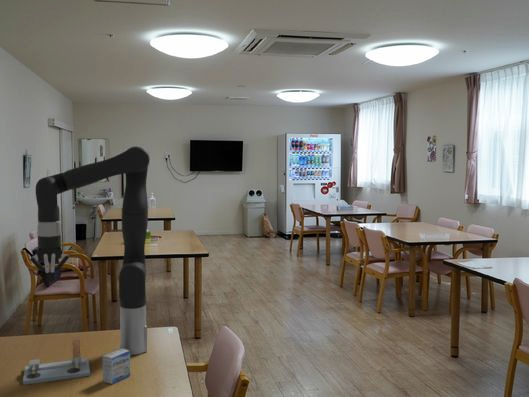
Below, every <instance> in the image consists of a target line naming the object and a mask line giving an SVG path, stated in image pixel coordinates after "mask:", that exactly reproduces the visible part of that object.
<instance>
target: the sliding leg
mask: <svg viewBox="0 0 529 397" xmlns="http://www.w3.org/2000/svg"><path fill="white" fill-rule="evenodd" d="M71 339H72V340H71V342H72V344H71V345H72V347H71V348H72V354H71V360H72V364H75V369H76V370H77V369H78V364H79V363H81V359H82V353H81V337H80V336H74V337H72V338H71Z"/></svg>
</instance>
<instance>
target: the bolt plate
mask: <svg viewBox="0 0 529 397" xmlns="http://www.w3.org/2000/svg"><path fill="white" fill-rule="evenodd" d="M89 361H90V360H89V358H81V363H79V364H78V369H77V370H76V369H75V364H72V359H71V360H63V361H55V362H48V363H40V367H39V370H35V375H34V376H33V375H32V371H29V365H25V366H24V372H23V376H22V377H23V378H22V386H25V385H31V384H39V383H40V384H41V383H45V382H47V383H48V382H54V381H60V380H68V379H77V378H82V377H83V378H84V377H90V376H91V371H90V370H91V369H90V362H89Z"/></svg>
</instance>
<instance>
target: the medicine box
mask: <svg viewBox="0 0 529 397" xmlns="http://www.w3.org/2000/svg"><path fill="white" fill-rule="evenodd" d="M101 358H102V381H103V382H104V383H107V384H111V385H114V384H116V383H118V382H120V381H122V380H125V379H126V378H128V377H130V376H131V355H130V351H129V350H126V349H122V348H119V349H117V350H114V351H112V352H109V353H106V354H103V355H102V357H101Z"/></svg>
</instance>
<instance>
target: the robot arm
mask: <svg viewBox="0 0 529 397" xmlns="http://www.w3.org/2000/svg"><path fill="white" fill-rule="evenodd" d="M150 160H151V159H150V154H149V153H148V151H147V150H146V149H145V148H143V147H141V146H130V147H129V148H127V150H126V151H125V150H124V151H123V152H121V153H119V154H117V155H115V156H112V157H110V158H107V159H103V160H101V161H100V160H99V161H97V162H92V163H87V164H85V165H84V164H83V165H80V166H78V167H73V168H71V169H68V170H65V171H64V172H60V173H57V174H53V175H49V176H45V177H42V178H40V179H39V180H37V182H36V184H35V197H36V198H35V199H36V204H37V232H36V233H37V234H36V235H37V251H36V254H34V255H33V256H31V257H30V259H29V260H30V261H31V263H32V264H33V265H34V266H35V267H36V268H37V270H39V271H40V272H44V273H45V281H46V282H47V283H48V284H53V282H55V278H56V275H55V272H57V271H60V270H61V269H62V267H63V266H64V265H65V263H66V262H67V261H68V260H69V254H65V253H64V252H63V248H62V230H61V229H62V228H61V217H60V216H61V215H60V207H59V205H58V195H59V194H62V193H66V192H68V191H71V190H77V189H79V188H80V189H81V188H83V187H86V186H90V185H92V184H95V183H98V182H101V181H102V180H105V179H109V178H112V177H115V176H118V175H124V174H125V187H124V193H123V199H122V207H121V232H122V238H123V245H124V249H123V250H124V251H123V260H122V267H121V269H120V271H119V275H118V290H119V292H118V298H119V315H120V316H119V318H120V319H119V321H120V323H119V327H120V328H119V329H120V331H119V333H120V348H119V349H121V348H122V349H126V350H129V351H130V356H134V355H135V356H136V355H140V354H143V353H147V352H148V326H147V297H146V294H147V293H146V277H147V268H146V254H145V252H146V250H145V246H146V239H147V232H148V225H149V224H148V222H149V221H148V220H149V202H148V192H147V177H148V176H147V175H148V170H149V165H150ZM39 259H40V261H41V262H42V263H44V266H43V265H42V264H41V263H40V261H39ZM60 259H61V260H60ZM58 260H60V262H58V264H57V265H56V262H57V261H58Z"/></svg>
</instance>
